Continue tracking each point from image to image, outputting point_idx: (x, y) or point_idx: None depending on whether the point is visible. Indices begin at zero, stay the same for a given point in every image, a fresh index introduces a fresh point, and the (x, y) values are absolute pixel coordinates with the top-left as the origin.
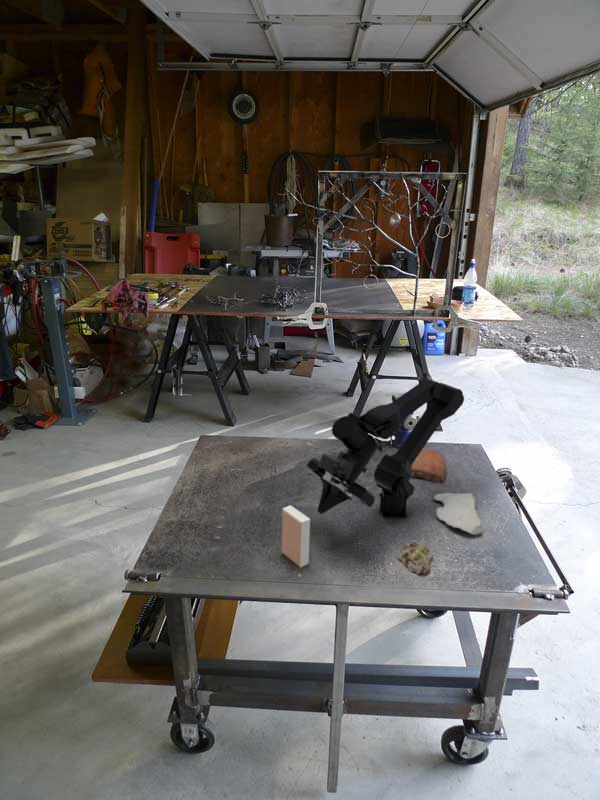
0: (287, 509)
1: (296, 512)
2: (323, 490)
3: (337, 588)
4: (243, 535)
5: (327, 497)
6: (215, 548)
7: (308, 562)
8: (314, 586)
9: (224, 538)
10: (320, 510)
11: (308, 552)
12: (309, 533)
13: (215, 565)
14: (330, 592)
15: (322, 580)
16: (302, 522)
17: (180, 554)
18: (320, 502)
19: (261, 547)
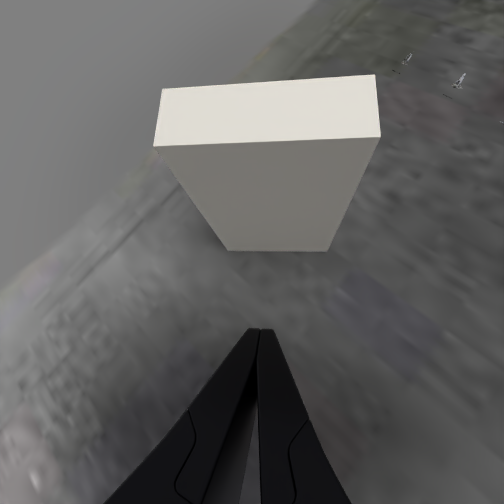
0: (342, 93)
1: (271, 118)
2: (326, 500)
3: (98, 245)
4: (485, 174)
5: (217, 439)
6: (459, 79)
7: (227, 249)
8: (147, 202)
9: (500, 121)
10: (244, 334)
11: (218, 235)
12: (191, 199)
13: (384, 55)
14: (103, 220)
15: (148, 234)
16: (162, 92)
17: (484, 7)
18: (280, 374)
19: (387, 185)
